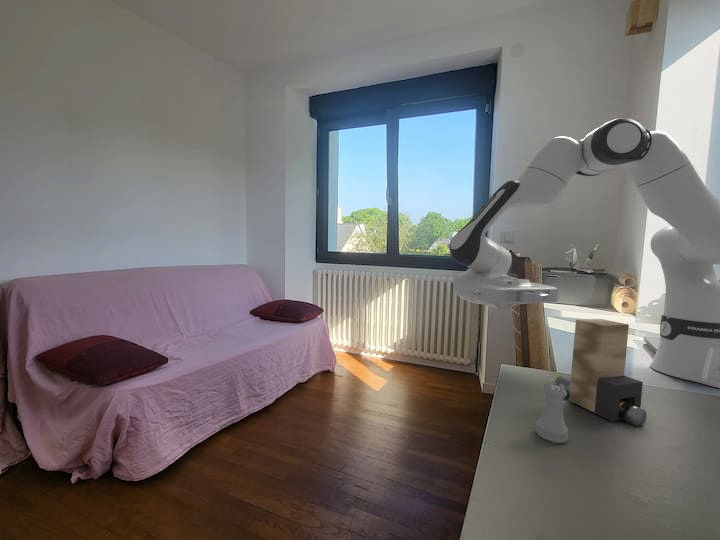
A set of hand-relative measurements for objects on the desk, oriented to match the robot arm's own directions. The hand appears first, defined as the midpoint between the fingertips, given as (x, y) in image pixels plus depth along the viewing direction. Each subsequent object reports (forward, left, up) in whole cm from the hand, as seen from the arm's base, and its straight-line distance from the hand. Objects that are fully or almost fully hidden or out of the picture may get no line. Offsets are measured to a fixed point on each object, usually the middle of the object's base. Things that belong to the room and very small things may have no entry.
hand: (545, 298), depth 74 cm
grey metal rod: (-6, +11, -19) cm, 23 cm away
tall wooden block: (-6, +11, -19) cm, 22 cm away
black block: (-8, +15, -19) cm, 25 cm away
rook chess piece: (+6, +25, -19) cm, 32 cm away
